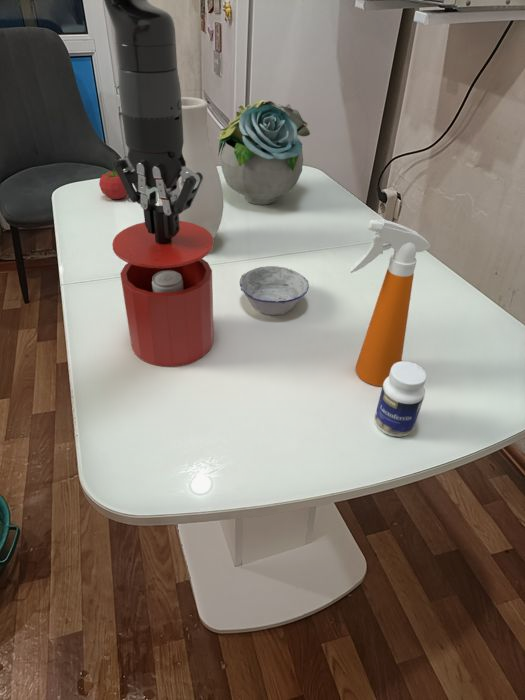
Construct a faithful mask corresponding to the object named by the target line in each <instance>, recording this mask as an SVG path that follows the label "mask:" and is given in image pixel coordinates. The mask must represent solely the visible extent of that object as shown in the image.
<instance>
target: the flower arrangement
mask: <svg viewBox="0 0 525 700" xmlns="http://www.w3.org/2000/svg"><path fill="white" fill-rule="evenodd" d="M238 109H239V111H236V112H235V113H236V115H235V118H234V119H233V120H232V121H229V122H228V125H227V126H226V127H224V128H221V129H220V130H221V131H220V132H219V137H216V139H217V140H219V144H218V153H217V154H218V155H217V156H218V157H219V155H220V166H221V171H222V175H223V178H224V180H225V183H226V184H227V185H228V186H229V187H230V188H232V189H233V190H234V191H235V192H237V193H238V194H239V195H243V197H244V199H245V201H247V202H248V203H251V204H252V205H253V204H254V205H263V206H264V205H270V204H273V203H275V202H276V200H277V199H278V197H280V196H282V195H285V194H286V193H289V191H291V190H292V189H294V188H295V186H296V185H297V183H298V181H299V178H300V177H301V175H302V172H303V166H304V153H303V143H302V141H301V139H300V137H308V136H310V135H311V132H310V129H309V128H308V127H307V126H308V125H309V124H308V122H306V121H304V119H303V117H302V115H301V114H300V112H299V110H297V109H295V108H294V109H293V108H292V106H291V104H290V103H289V104H287V105H285V104H280V103H279V104H278V103H276V102H275V101H273V100H269V101H266V100H265V99H261V100H259V101H256V102H255V103H252V104H251V105H250V104H248V105H247V106H245V107H244V104H243V102H241V103H240V106H238ZM299 136H300V137H299Z"/></svg>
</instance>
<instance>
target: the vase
mask: <svg viewBox="0 0 525 700" xmlns="http://www.w3.org/2000/svg"><path fill="white" fill-rule="evenodd" d="M181 103H182V122H183V140H184V143H183V148H182V155H183V157H184V160H185V162H186V167H187V168H188V169H190V170H191V171H192V172H193V173H197V172H199V173H201V174H202V176H203V180H202V182H201V184H200V186H199V189H198V191H197V193H196V195H195V198H194V200H193V202H192V204H191V207H190V208H188V209H186V210H184V211H183V212H182V213H180V214H179V221H184V222H189V223H193V224H196V225H198V226H201V227H203V228H204V229H206V230H207V231H208V232H210V234H211V235H212V237H213V241H215V240H214V239H215V238H216V236H217V235H218V231H219V230H220V226H221V223H222V219H223V213H224V192H223V186H222V181H221V177H220V173H219V170H218V166H217V163H216V160H215V157H214V153H213V150H212V146H211V141H210V136H209V129H208V106H209V105H208V101H206V99H202V98H199V97H192V96H181ZM178 181H179V187H180V192H181V190H182V187H183V186H181V181H182V177H181V176H180V178H179V179H178ZM180 192H179V194H180ZM158 206H163V204H162V200H161V199H160V198H159V196H158Z"/></svg>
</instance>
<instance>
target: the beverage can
mask: <svg viewBox="0 0 525 700" xmlns="http://www.w3.org/2000/svg"><path fill="white" fill-rule="evenodd" d="M152 279H153V281H152V288H153V292H158V293H170V292H177V291H183V290H184V289H183V280H182V276H181V275H180V274H179V273H178V272H175V271H161V272H158V273H156V274H155V275H154V276H153V278H152Z"/></svg>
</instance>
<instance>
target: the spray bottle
mask: <svg viewBox="0 0 525 700" xmlns="http://www.w3.org/2000/svg"><path fill="white" fill-rule="evenodd" d="M367 228H368V230H370V231H372V232H375V234H374V235H373V236H372V244H371V245H370V246H369V248H368V249H367V251H366V252H365V253H364V254H363V256H361V258H360V259H359V260H358V261H357V262H356V263H354V265H353V266H351V267H350V268H349V272H350V274H352V273H354V272H355V273H356V272H358V271H359V270H361V269H363V268H364V267H365V266H367V265H368V264H370V263H372V262H373V261H374V260H375V259H376V258H377V257H379V256H380V255H383V253H384V252H385V251H388V250H391V249H393V253H392V254H391V255H390V257H389V262H388V266H387V268H386V269H387V270H386V272H385V274H384V278H383V281H382V284H381V288H380V291H379V294H378V297H377V300H376V303H375V306H374V309H373V312H372V315H371V317H370V321H369V324H368V327H367V329H366V330H367V331H366V334H365V336H364V339H363V342H362V346H361V348H360V352H359V355H358V357H357V360H356V363H355V373H356V374H357V376H358V377H359V379H361V380H362V381H363V382H364V383H366V384H369V385H372V386H377V387H383V383H384V381H385V379H386V378H387V377H388V376H389V374H390V371H391V368H392V366H393V365H394V364H395V363H397V362H401V361H402V360H403V354H404V353H403V352H404V345H405V340H406V339H405V338H406V332H407V324H408V317H409V311H410V303H411V298H412V297H411V296H412V290H413V289H412V288H413V281H414V276H415V275H414V274H415V273H414V272H415V270H416V265H417V258H416V255H417V253H422V252H425V251H427V250H430V248H431V247H432V246H431V244H430V243H429V242H428V241H427V239H426V238H425V237H424V236H422V235H421V234H420V233H419V232H417V231H415V230H414V229H411V228H409V227H407V226H405V225H402V224H401V223H397V222H394V221H391V220H388V219H383V218H381V219H380V220H376V219H371V220H370V221H369V222H368V227H367Z"/></svg>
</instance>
